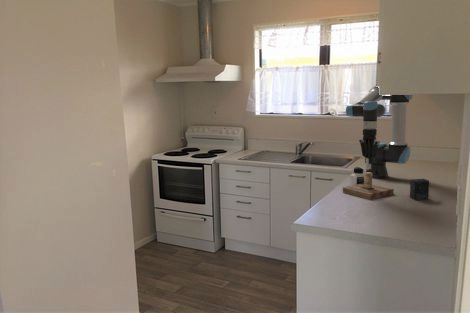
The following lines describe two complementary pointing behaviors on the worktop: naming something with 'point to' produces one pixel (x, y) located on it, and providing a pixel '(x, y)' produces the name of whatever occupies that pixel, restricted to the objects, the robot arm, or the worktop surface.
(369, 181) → the peg
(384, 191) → the board
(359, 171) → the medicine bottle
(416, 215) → the worktop surface
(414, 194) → the box
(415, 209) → the worktop surface
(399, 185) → the worktop surface
